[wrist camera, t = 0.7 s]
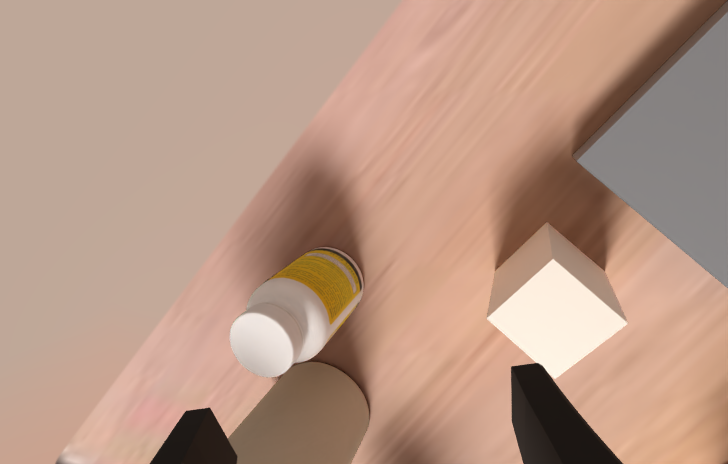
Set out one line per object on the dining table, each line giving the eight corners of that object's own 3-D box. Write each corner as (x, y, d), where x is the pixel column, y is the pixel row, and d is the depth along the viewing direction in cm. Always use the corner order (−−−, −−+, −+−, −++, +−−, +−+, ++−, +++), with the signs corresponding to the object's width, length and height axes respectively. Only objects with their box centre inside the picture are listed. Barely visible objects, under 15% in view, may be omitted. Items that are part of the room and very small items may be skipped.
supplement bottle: (303, 235, 34) (224, 285, 25) (373, 258, 33) (315, 320, 24) (291, 299, 36) (213, 367, 27) (356, 324, 34) (297, 404, 25)
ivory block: (604, 271, 28) (628, 323, 22) (548, 318, 30) (554, 378, 23) (546, 221, 28) (552, 258, 22) (494, 271, 30) (486, 318, 24)
